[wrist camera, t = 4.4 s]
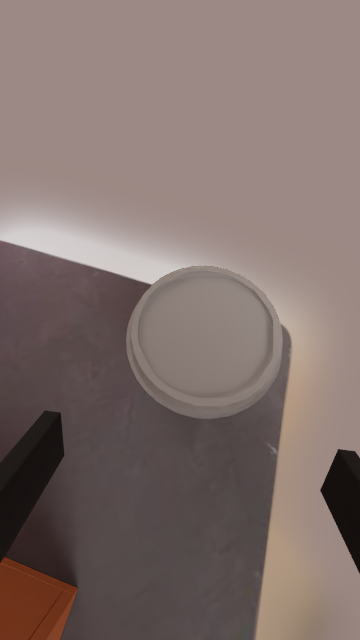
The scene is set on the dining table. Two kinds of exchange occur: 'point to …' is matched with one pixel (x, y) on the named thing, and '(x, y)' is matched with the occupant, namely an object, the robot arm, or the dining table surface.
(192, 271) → the disposable coffee cup
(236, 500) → the dining table surface
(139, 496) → the dining table surface
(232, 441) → the dining table surface
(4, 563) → the open box
